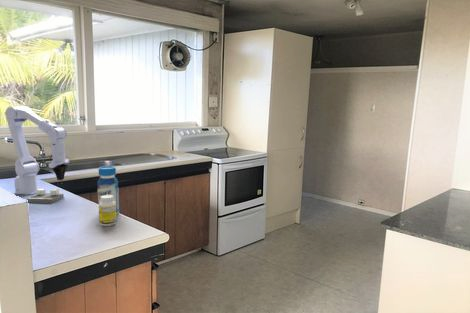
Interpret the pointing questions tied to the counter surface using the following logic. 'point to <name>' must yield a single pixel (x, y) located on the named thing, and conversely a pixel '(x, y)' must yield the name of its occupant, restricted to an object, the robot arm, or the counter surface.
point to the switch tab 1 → (40, 191)
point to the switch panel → (45, 198)
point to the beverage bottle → (108, 184)
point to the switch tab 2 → (54, 192)
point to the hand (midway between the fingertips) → (60, 179)
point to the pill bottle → (107, 210)
